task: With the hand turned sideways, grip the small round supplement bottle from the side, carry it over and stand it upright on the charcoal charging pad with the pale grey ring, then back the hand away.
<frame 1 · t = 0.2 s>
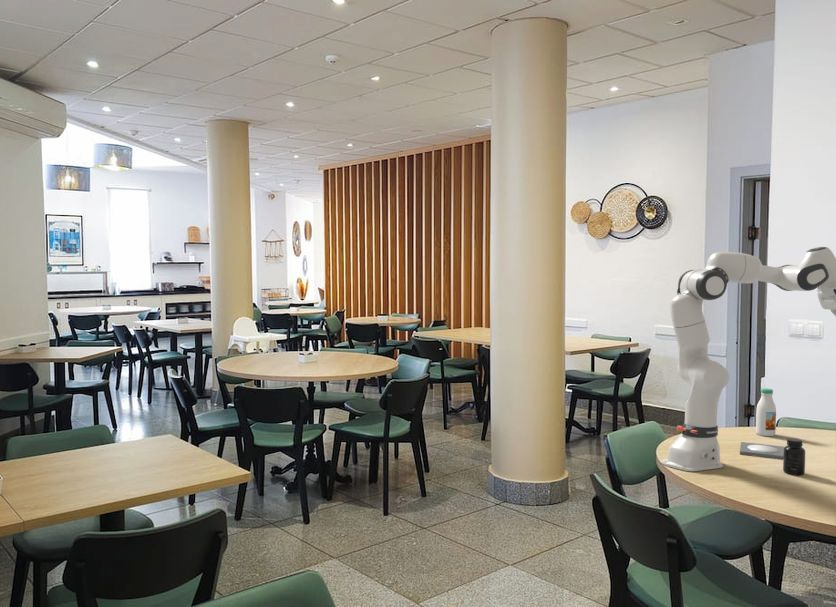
milk bottle: (765, 435, 302), on the table
charging pad: (762, 451, 273), on the table
supplement bottle: (793, 473, 246), on the table
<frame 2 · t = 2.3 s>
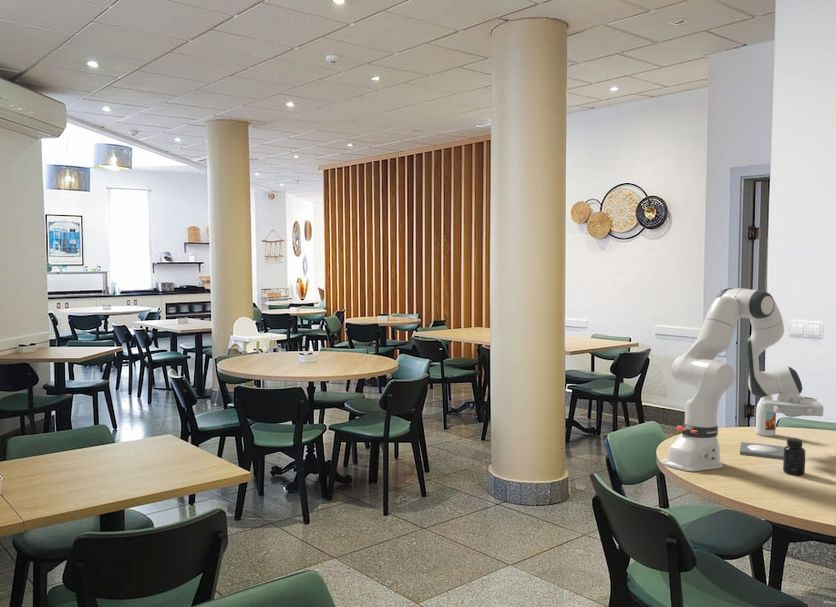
hand: (793, 411, 256), 20 cm above the table, tool horizontal, fingers open, 8 cm apart
nothing on the table moved.
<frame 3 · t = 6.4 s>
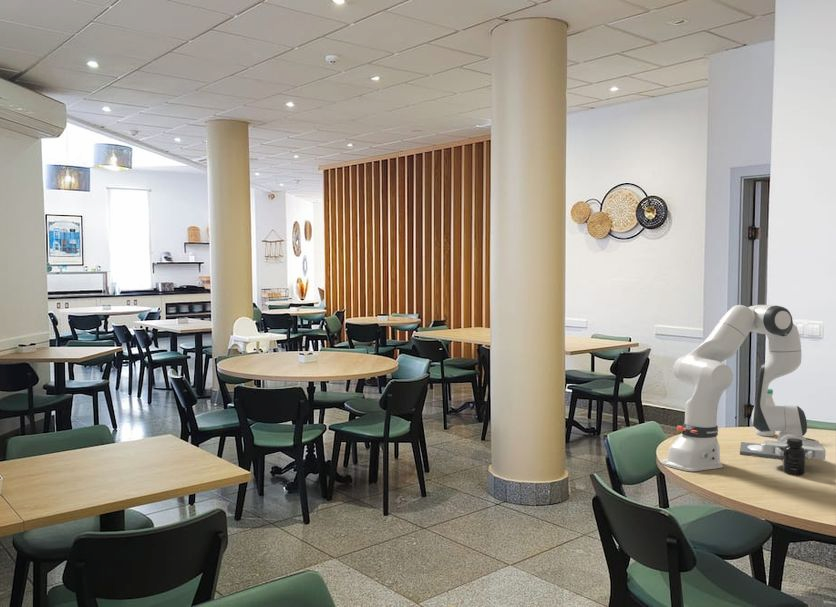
hand: (794, 455, 244), 7 cm above the table, tool horizontal, fingers closed on supplement bottle, 7 cm apart
supplement bottle: (793, 473, 246), on the table, touching gripper
everything else where it was.
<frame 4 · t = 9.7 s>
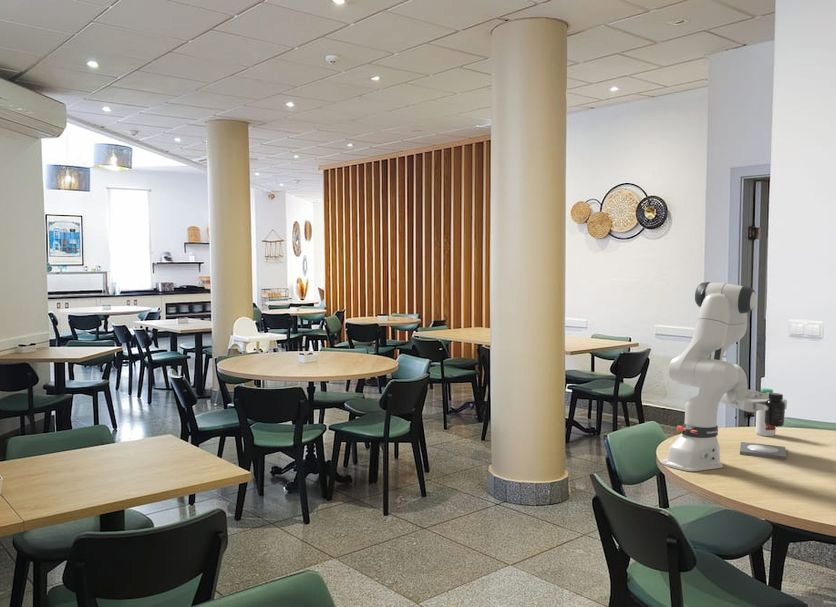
hand: (776, 407, 266), 19 cm above the table, tool horizontal, fingers closed on supplement bottle, 7 cm apart
supplement bottle: (773, 425, 267), point 12 cm above the table, touching gripper
everything else where it was.
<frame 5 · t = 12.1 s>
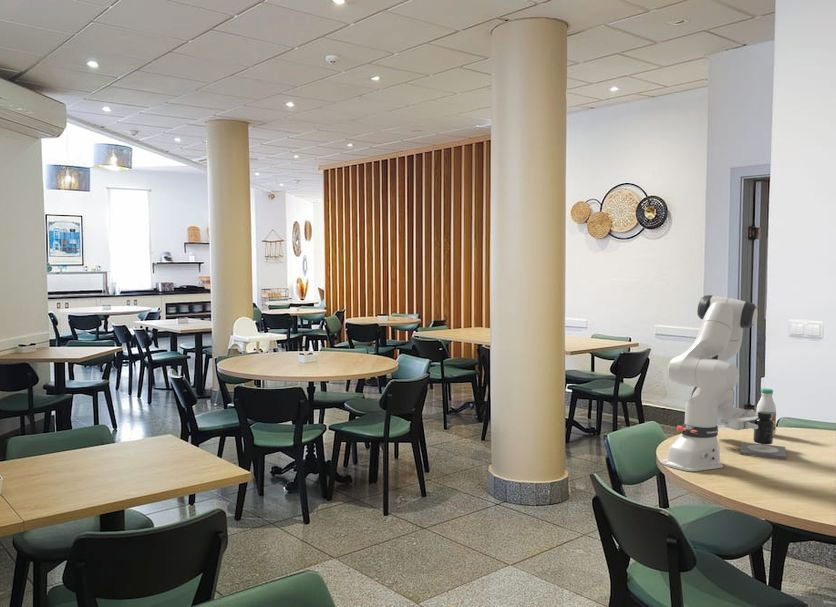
hand: (765, 426, 272), 10 cm above the table, tool horizontal, fingers closed on supplement bottle, 7 cm apart
supplement bottle: (762, 443, 273), point 4 cm above the table, touching gripper
everything else where it was.
when the fingers open (9 cm above the table, at t = 13.1 s): supplement bottle drops 1 cm, resting on charging pad.
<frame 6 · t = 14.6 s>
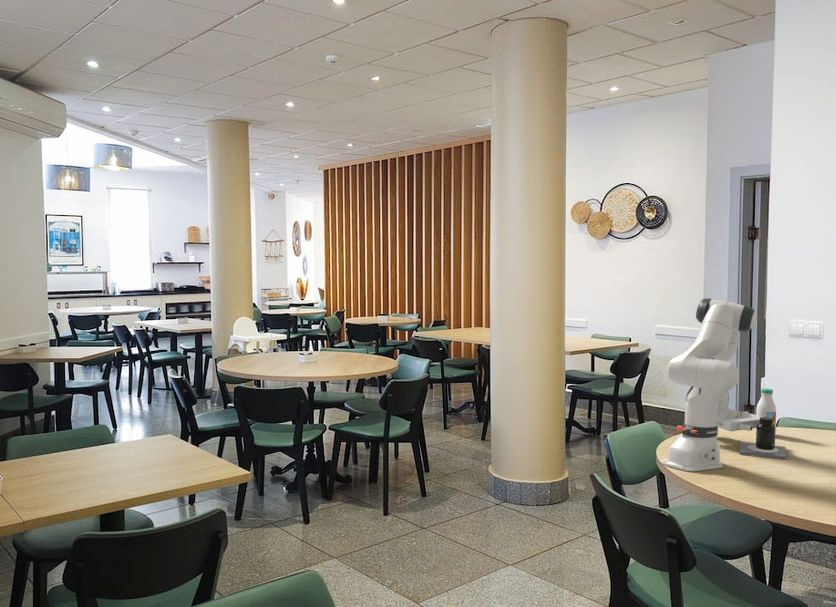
hand: (759, 427, 275), 9 cm above the table, tool horizontal, fingers open, 8 cm apart
supplement bottle: (765, 448, 274), point 1 cm above the table, touching charging pad, gripper
everything else where it was.
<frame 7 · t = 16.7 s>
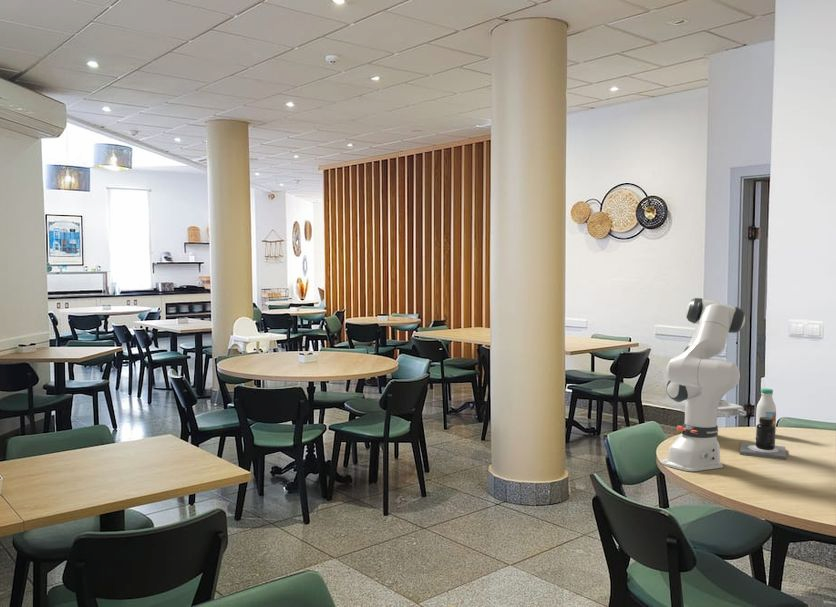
hand: (737, 414, 283), 13 cm above the table, tool horizontal, fingers open, 8 cm apart
supplement bottle: (765, 448, 274), point 1 cm above the table, touching charging pad
everything else where it was.
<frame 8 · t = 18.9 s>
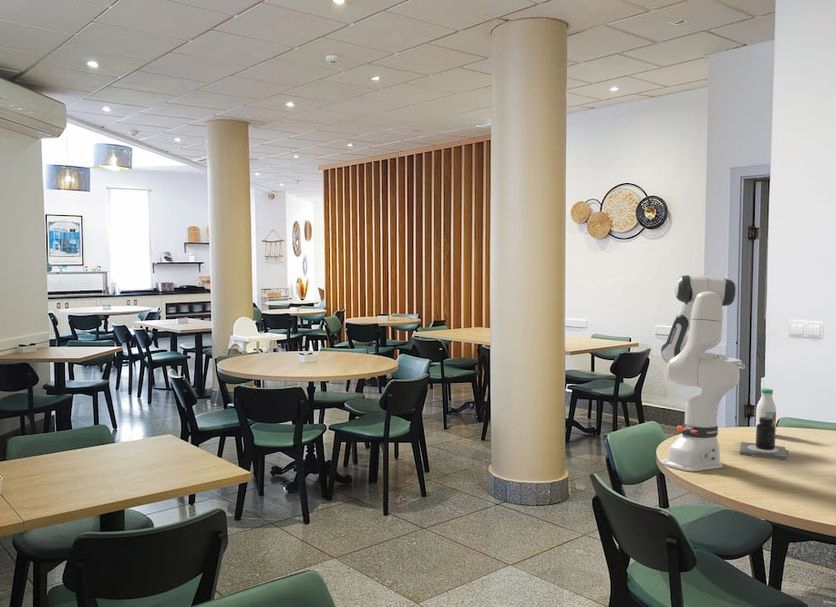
hand: (735, 367, 281), 32 cm above the table, tool horizontal, fingers open, 8 cm apart
nothing on the table moved.
at the end: supplement bottle inside the target area on the charging pad (1.4 cm from its centre), point 1.2 cm above the charging pad's base; supplement bottle tilted 0°; the gripper is holding nothing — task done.
